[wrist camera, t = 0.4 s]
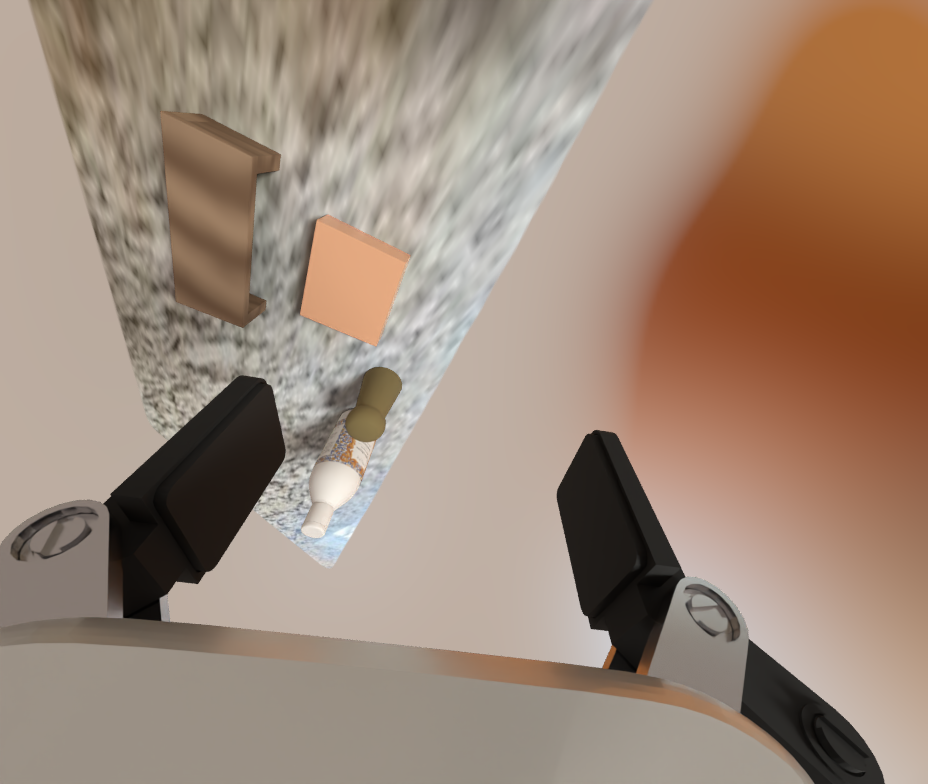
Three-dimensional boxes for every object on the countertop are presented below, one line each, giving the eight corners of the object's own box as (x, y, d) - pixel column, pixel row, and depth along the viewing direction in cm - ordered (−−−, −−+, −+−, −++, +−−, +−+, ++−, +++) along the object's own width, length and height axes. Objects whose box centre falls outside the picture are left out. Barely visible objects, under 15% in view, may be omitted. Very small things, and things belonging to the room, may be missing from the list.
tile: (329, 213, 38) (316, 219, 35) (411, 254, 40) (405, 263, 37) (311, 303, 45) (299, 314, 42) (382, 334, 47) (376, 346, 44)
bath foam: (388, 432, 58) (351, 542, 42) (354, 440, 60) (307, 549, 44) (367, 403, 54) (318, 512, 38) (332, 412, 56) (271, 521, 40)
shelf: (202, 114, 32) (160, 110, 28) (280, 154, 34) (251, 156, 30) (206, 285, 43) (175, 301, 39) (265, 309, 45) (242, 327, 41)
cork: (367, 361, 49) (341, 409, 41) (406, 374, 50) (389, 424, 42) (360, 391, 53) (335, 441, 44) (397, 402, 54) (380, 454, 45)
